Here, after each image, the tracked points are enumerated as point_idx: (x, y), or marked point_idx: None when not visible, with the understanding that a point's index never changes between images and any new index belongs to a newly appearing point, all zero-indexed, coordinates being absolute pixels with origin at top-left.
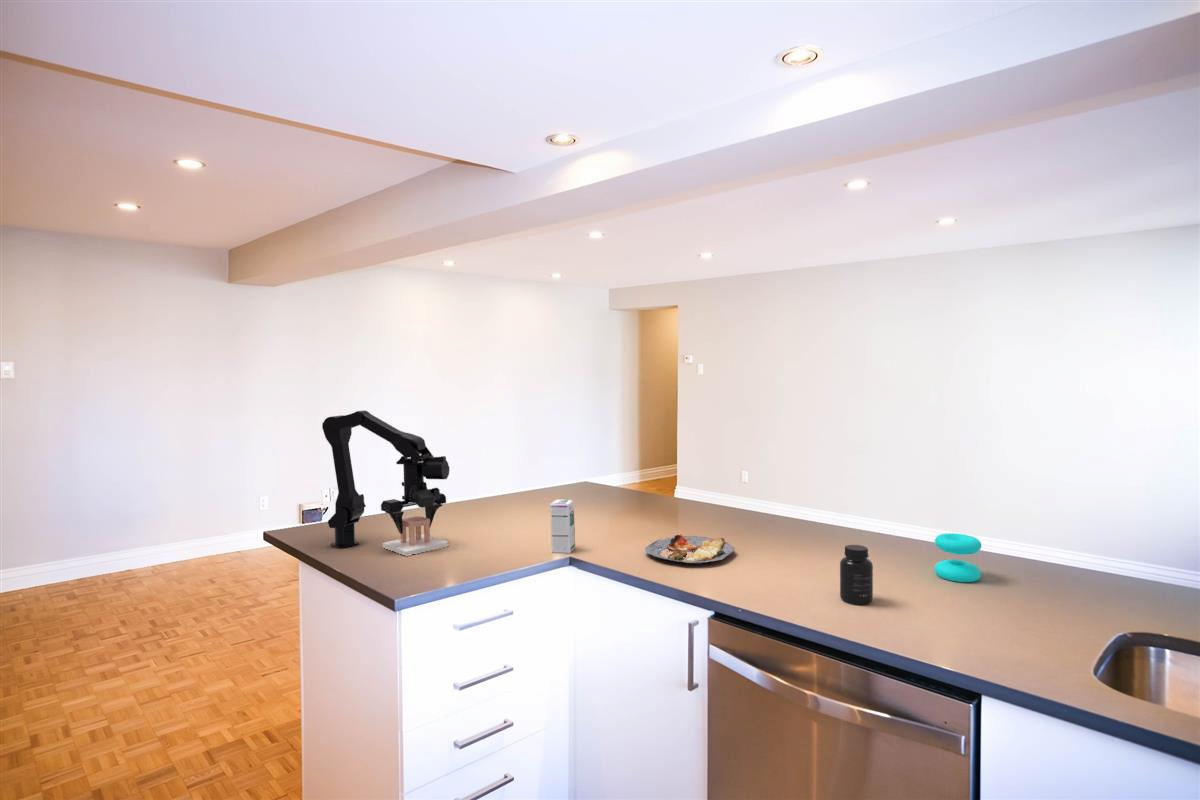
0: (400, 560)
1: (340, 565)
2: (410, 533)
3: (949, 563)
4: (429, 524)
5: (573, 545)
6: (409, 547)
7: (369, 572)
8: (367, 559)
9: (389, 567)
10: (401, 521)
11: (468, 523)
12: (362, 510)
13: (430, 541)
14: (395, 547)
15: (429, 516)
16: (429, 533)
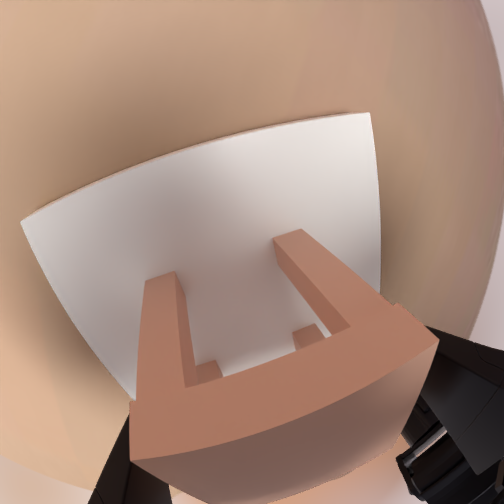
0: (385, 74)
1: (498, 184)
2: (356, 282)
3: None
4: (137, 398)
5: None
6: (321, 205)
7: (472, 39)
8: (456, 199)
9: (430, 24)
10: (475, 362)
11: (29, 460)
12: (425, 478)
13: (139, 295)
14: (377, 252)
15: (139, 501)
16: (143, 322)
